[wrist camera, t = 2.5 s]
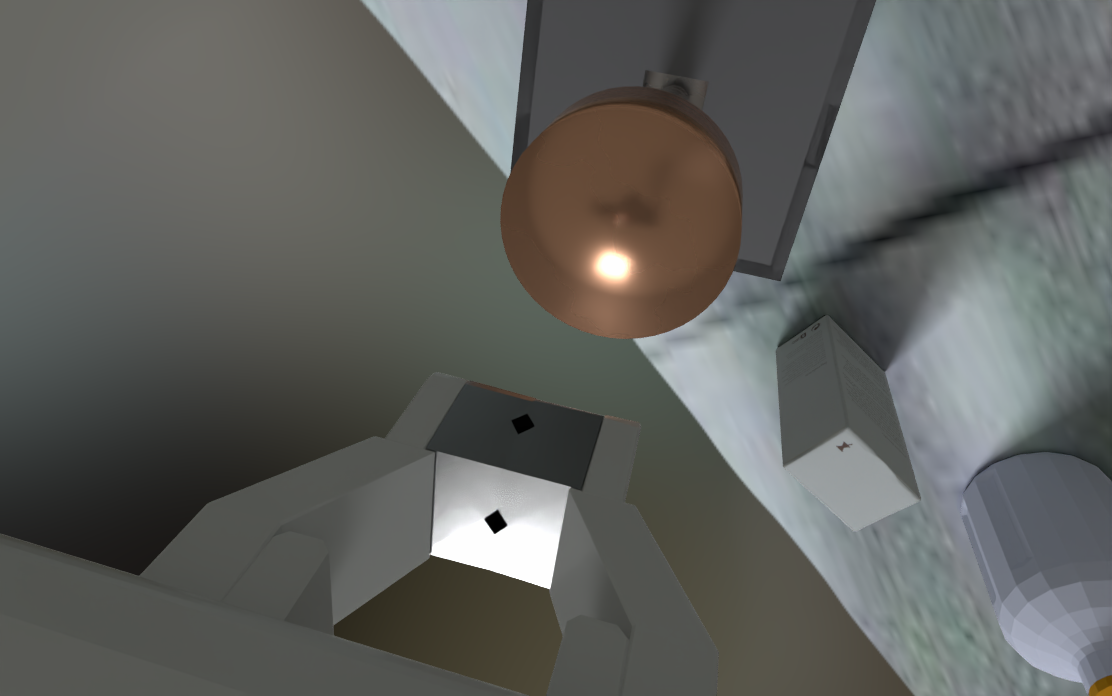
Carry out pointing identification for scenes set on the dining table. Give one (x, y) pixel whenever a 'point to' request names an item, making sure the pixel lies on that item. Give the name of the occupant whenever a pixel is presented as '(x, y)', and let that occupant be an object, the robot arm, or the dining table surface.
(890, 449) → the skincare box
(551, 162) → the plunger
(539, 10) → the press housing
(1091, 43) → the dining table surface
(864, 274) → the dining table surface
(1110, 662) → the soap bottle
